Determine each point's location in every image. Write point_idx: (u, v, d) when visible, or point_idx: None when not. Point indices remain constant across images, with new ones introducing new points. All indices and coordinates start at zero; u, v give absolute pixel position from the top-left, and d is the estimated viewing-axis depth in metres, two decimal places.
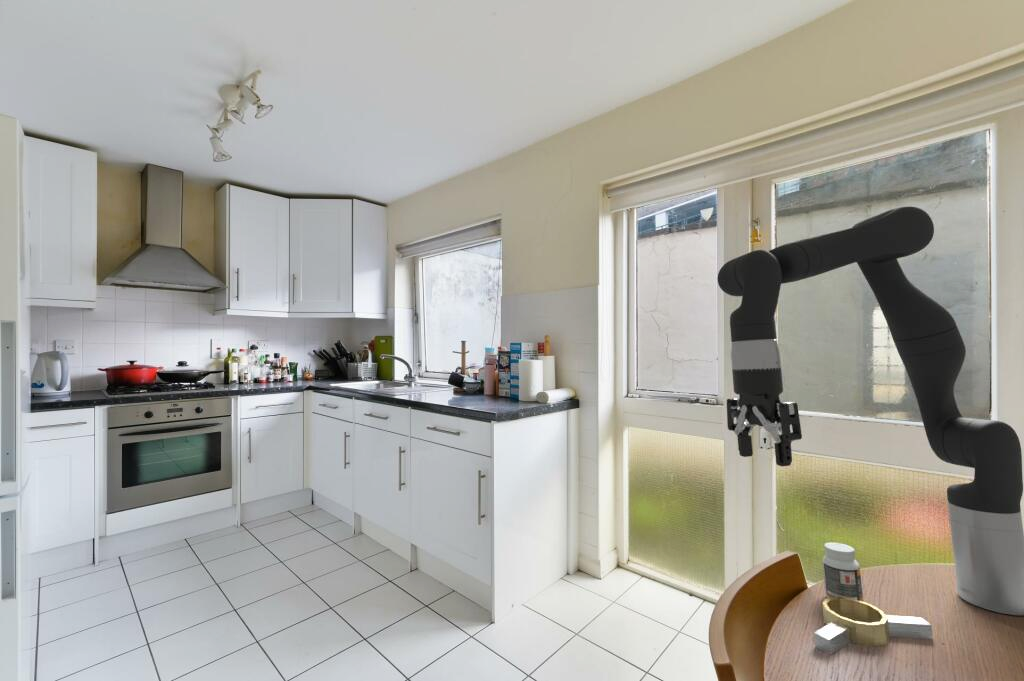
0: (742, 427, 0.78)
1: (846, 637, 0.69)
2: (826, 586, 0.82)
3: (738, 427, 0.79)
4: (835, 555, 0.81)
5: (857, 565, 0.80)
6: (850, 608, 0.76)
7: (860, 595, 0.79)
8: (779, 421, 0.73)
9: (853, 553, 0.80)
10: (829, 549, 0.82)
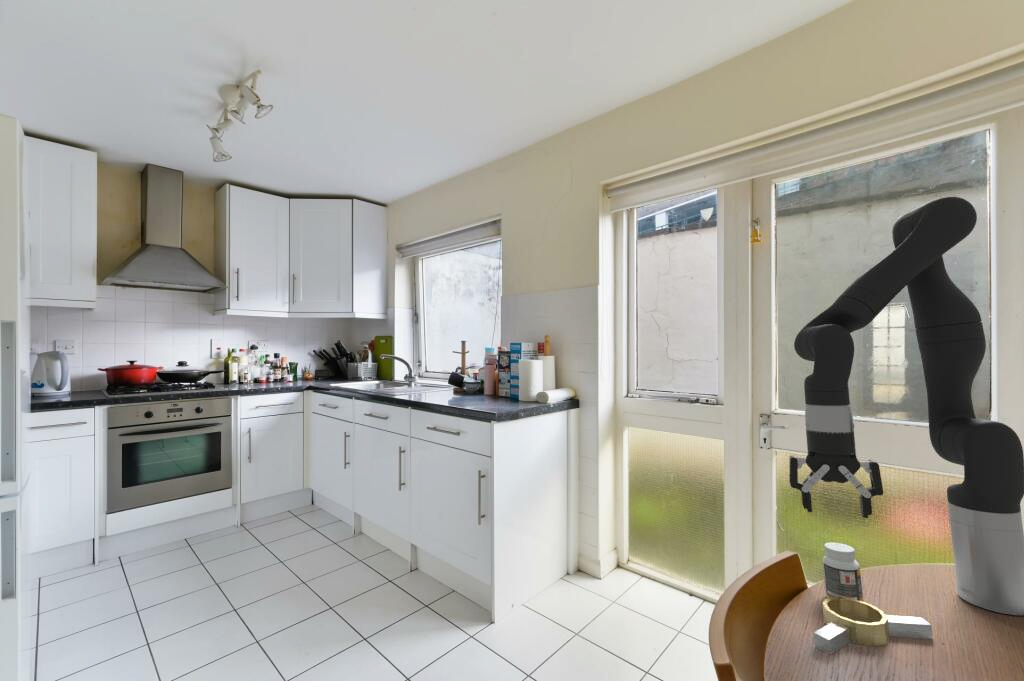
0: (813, 484, 0.84)
1: (846, 637, 0.69)
2: (826, 586, 0.82)
3: (808, 485, 0.84)
4: (835, 555, 0.81)
5: (857, 565, 0.80)
6: (850, 608, 0.76)
7: (860, 595, 0.79)
8: None
9: (853, 553, 0.80)
10: (829, 549, 0.82)
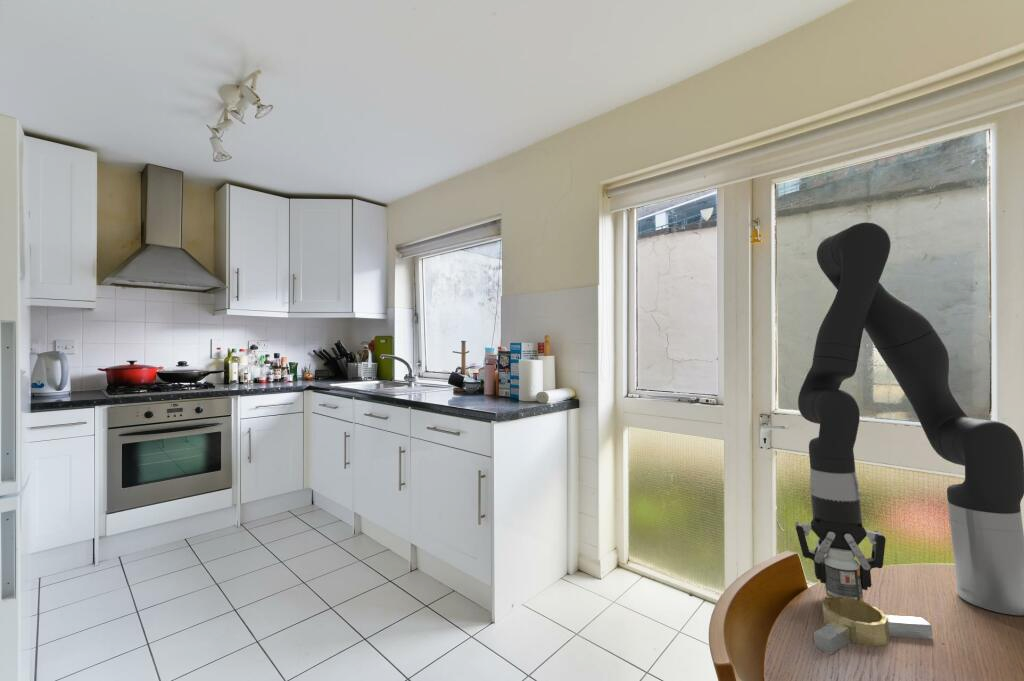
0: (825, 553, 0.82)
1: (846, 637, 0.69)
2: (826, 586, 0.82)
3: (819, 554, 0.83)
4: (835, 555, 0.81)
5: (857, 565, 0.80)
6: (850, 608, 0.76)
7: (860, 595, 0.79)
8: None
9: (853, 553, 0.80)
10: (829, 549, 0.82)
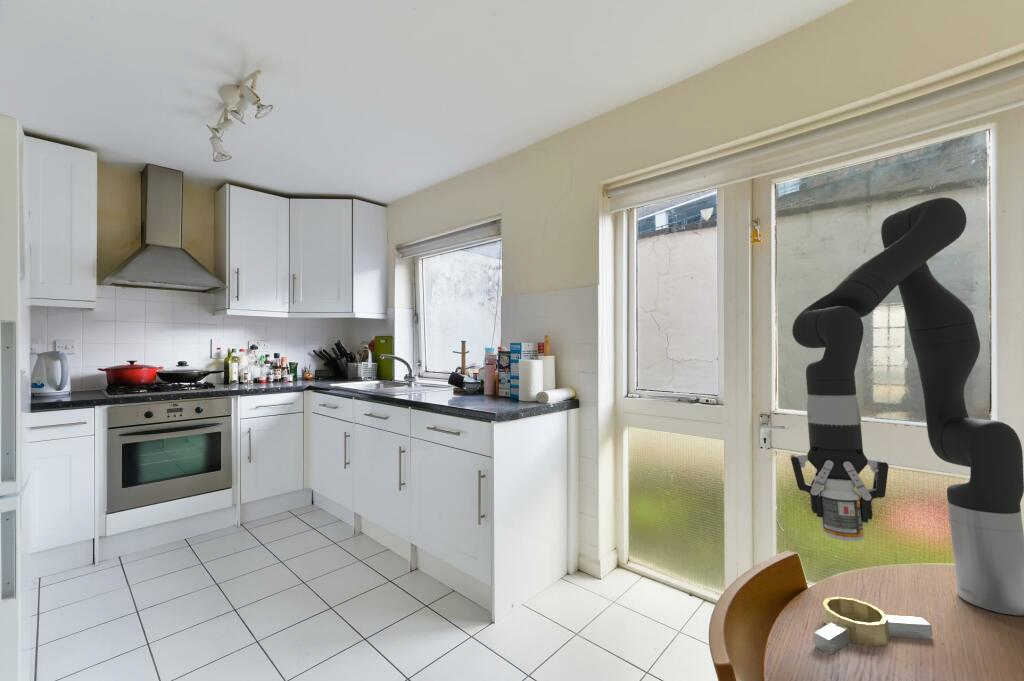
0: (822, 485, 0.76)
1: (846, 637, 0.69)
2: (823, 520, 0.76)
3: (816, 486, 0.76)
4: (833, 485, 0.74)
5: (857, 496, 0.73)
6: (850, 608, 0.76)
7: (860, 527, 0.73)
8: None
9: (853, 483, 0.74)
10: (827, 479, 0.75)
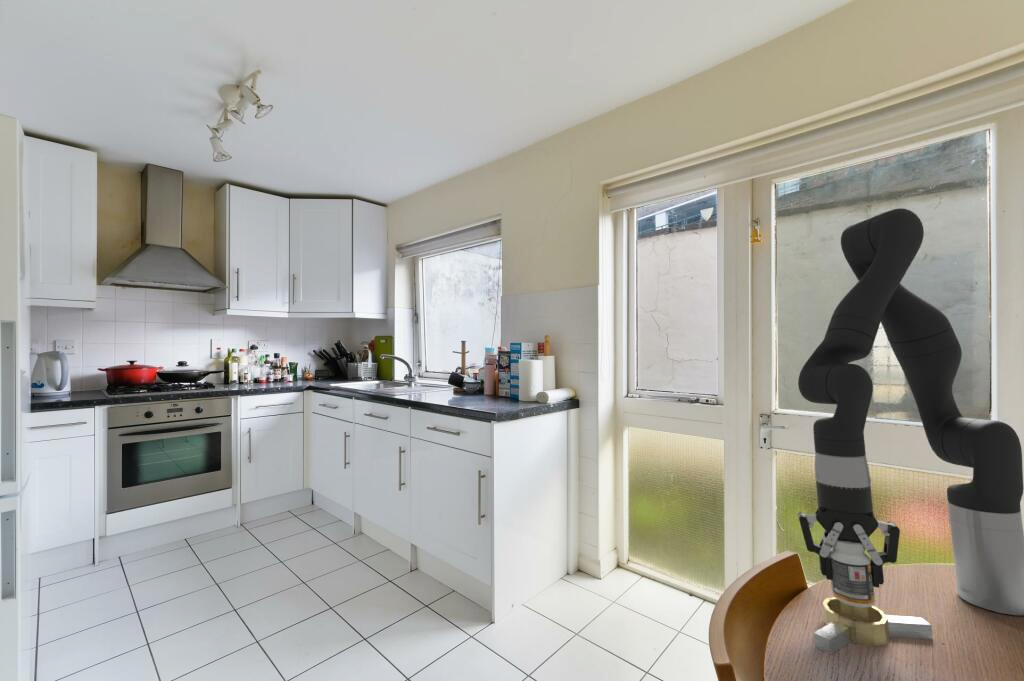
0: (831, 547, 0.74)
1: (846, 637, 0.69)
2: (833, 583, 0.74)
3: (826, 548, 0.74)
4: (843, 548, 0.72)
5: (868, 560, 0.71)
6: (850, 608, 0.76)
7: (871, 593, 0.71)
8: None
9: (863, 546, 0.72)
10: (836, 541, 0.73)
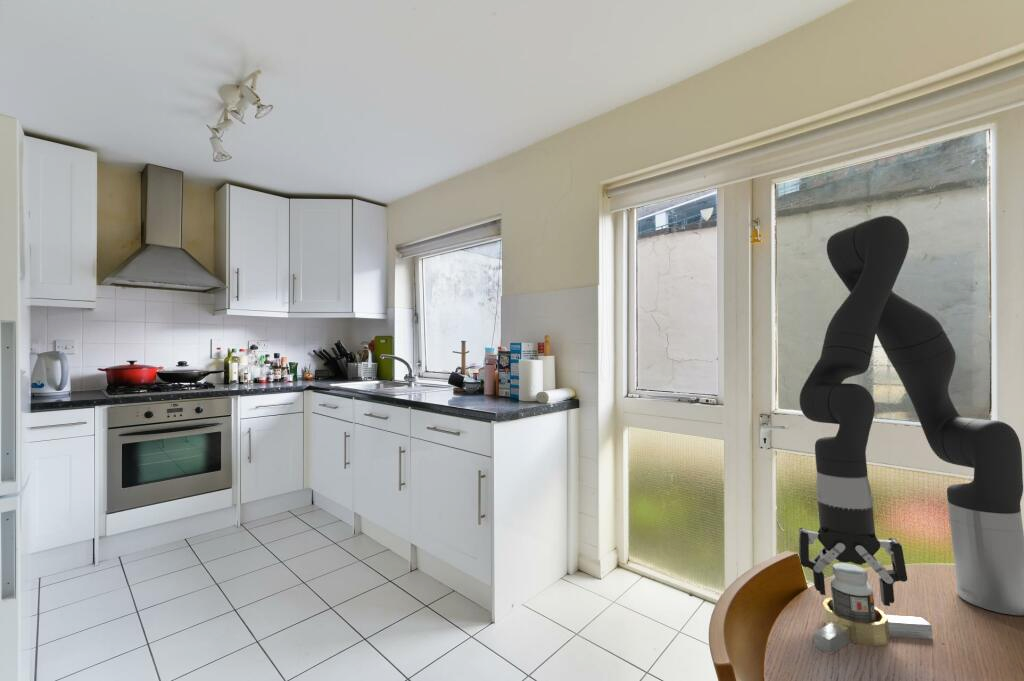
0: (827, 564, 0.74)
1: (846, 637, 0.69)
2: None
3: (821, 564, 0.74)
4: (845, 578, 0.72)
5: (870, 590, 0.71)
6: None
7: None
8: None
9: (865, 576, 0.71)
10: (838, 571, 0.73)
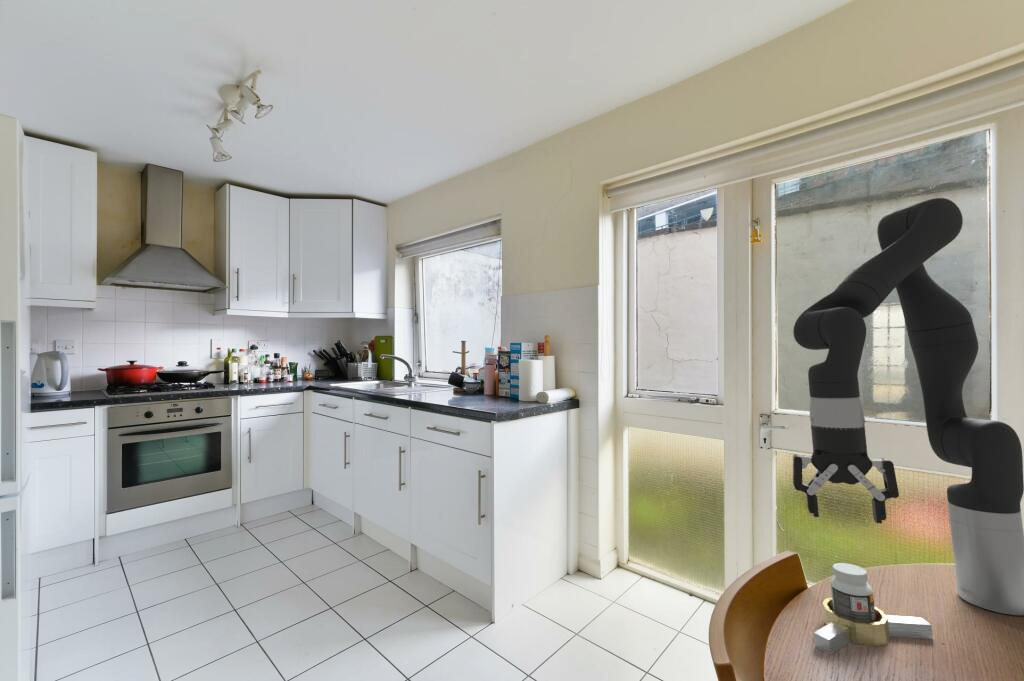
0: (820, 486, 0.75)
1: (846, 637, 0.69)
2: None
3: (814, 487, 0.75)
4: (845, 578, 0.72)
5: (870, 590, 0.71)
6: None
7: None
8: None
9: (865, 576, 0.71)
10: (838, 571, 0.73)
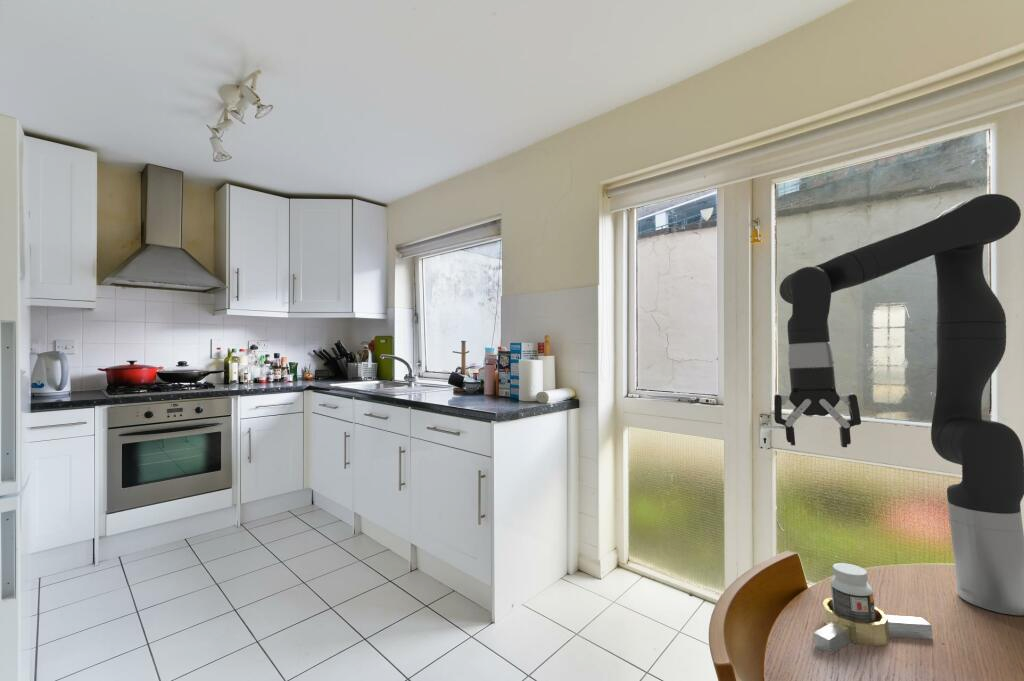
0: (796, 419, 0.89)
1: (846, 637, 0.69)
2: None
3: (791, 419, 0.89)
4: (845, 578, 0.72)
5: (870, 590, 0.71)
6: None
7: None
8: None
9: (865, 576, 0.71)
10: (838, 571, 0.73)
